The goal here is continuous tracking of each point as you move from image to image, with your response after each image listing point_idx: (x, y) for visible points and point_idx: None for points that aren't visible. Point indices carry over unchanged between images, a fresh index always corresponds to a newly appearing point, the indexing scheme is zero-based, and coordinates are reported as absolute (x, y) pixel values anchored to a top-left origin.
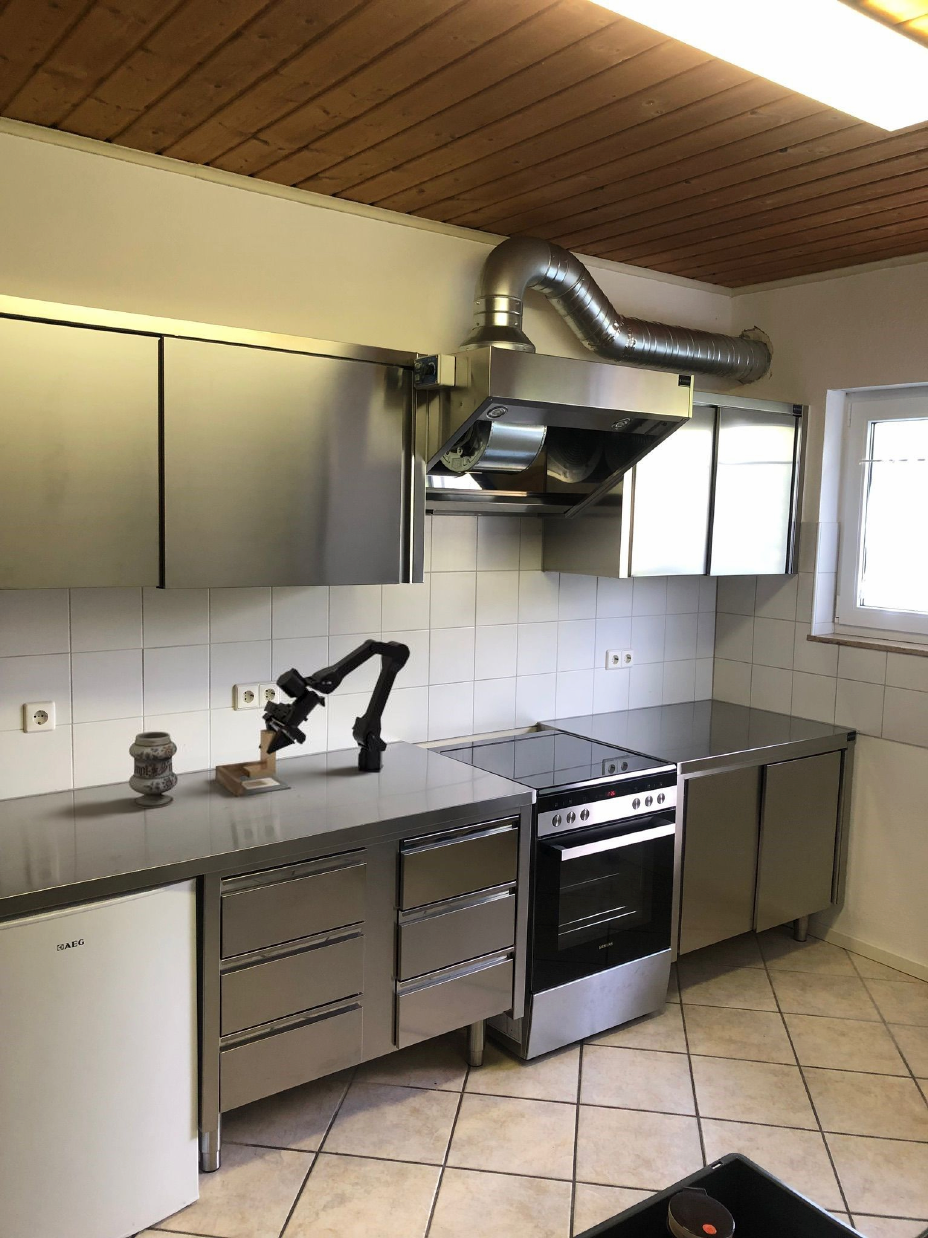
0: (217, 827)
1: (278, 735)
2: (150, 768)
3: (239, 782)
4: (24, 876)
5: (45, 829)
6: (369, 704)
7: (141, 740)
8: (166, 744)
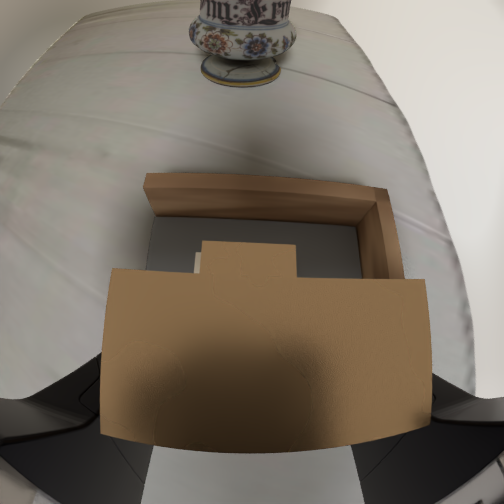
0: (40, 122)
1: (39, 410)
2: None
3: (146, 179)
4: (106, 12)
5: None
6: None
7: None
8: None
